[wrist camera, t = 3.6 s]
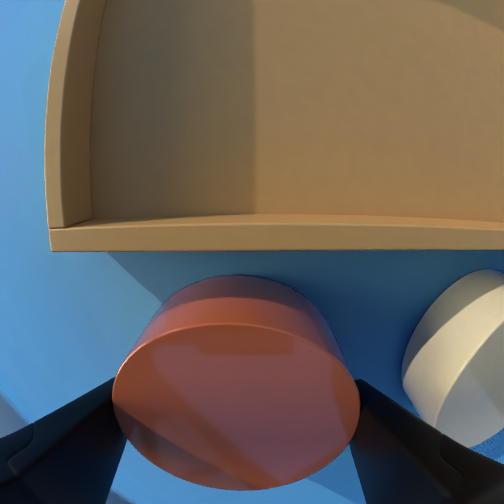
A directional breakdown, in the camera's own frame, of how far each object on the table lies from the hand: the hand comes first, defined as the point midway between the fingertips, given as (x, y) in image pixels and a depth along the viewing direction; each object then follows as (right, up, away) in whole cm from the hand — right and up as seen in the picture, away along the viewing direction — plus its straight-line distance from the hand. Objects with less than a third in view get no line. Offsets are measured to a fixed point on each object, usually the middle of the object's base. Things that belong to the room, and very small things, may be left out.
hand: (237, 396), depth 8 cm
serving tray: (+4, +11, -1) cm, 12 cm away
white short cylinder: (+9, 0, +1) cm, 9 cm away
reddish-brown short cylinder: (0, 0, +1) cm, 2 cm away
